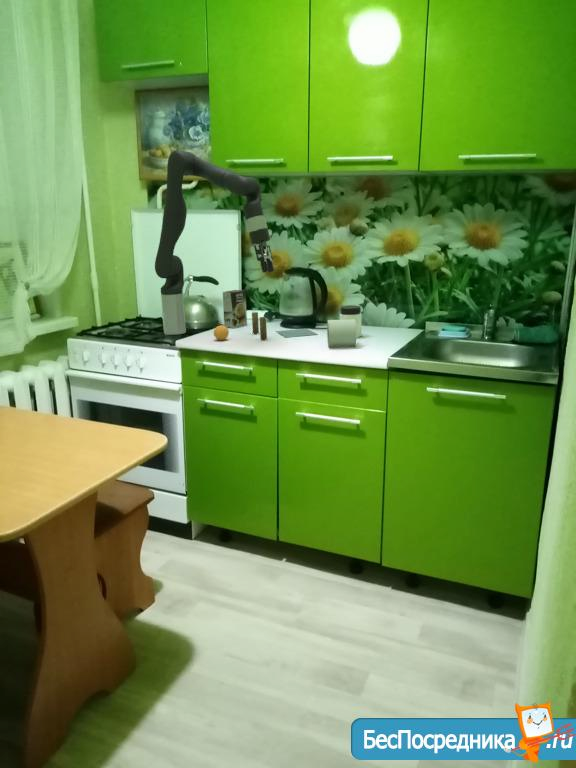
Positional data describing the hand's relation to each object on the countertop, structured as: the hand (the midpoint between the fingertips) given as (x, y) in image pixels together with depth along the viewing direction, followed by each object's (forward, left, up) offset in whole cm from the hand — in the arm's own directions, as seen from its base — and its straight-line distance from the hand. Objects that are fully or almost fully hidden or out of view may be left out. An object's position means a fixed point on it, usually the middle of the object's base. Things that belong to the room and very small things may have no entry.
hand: (268, 271), depth 227 cm
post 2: (-2, +6, -27) cm, 28 cm away
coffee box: (-6, +41, -28) cm, 50 cm away
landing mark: (+14, +13, -27) cm, 34 cm away
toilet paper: (+22, -18, -28) cm, 40 cm away
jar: (+32, -3, -28) cm, 43 cm away
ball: (-18, +13, -24) cm, 33 cm away
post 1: (-2, +19, -27) cm, 34 cm away
